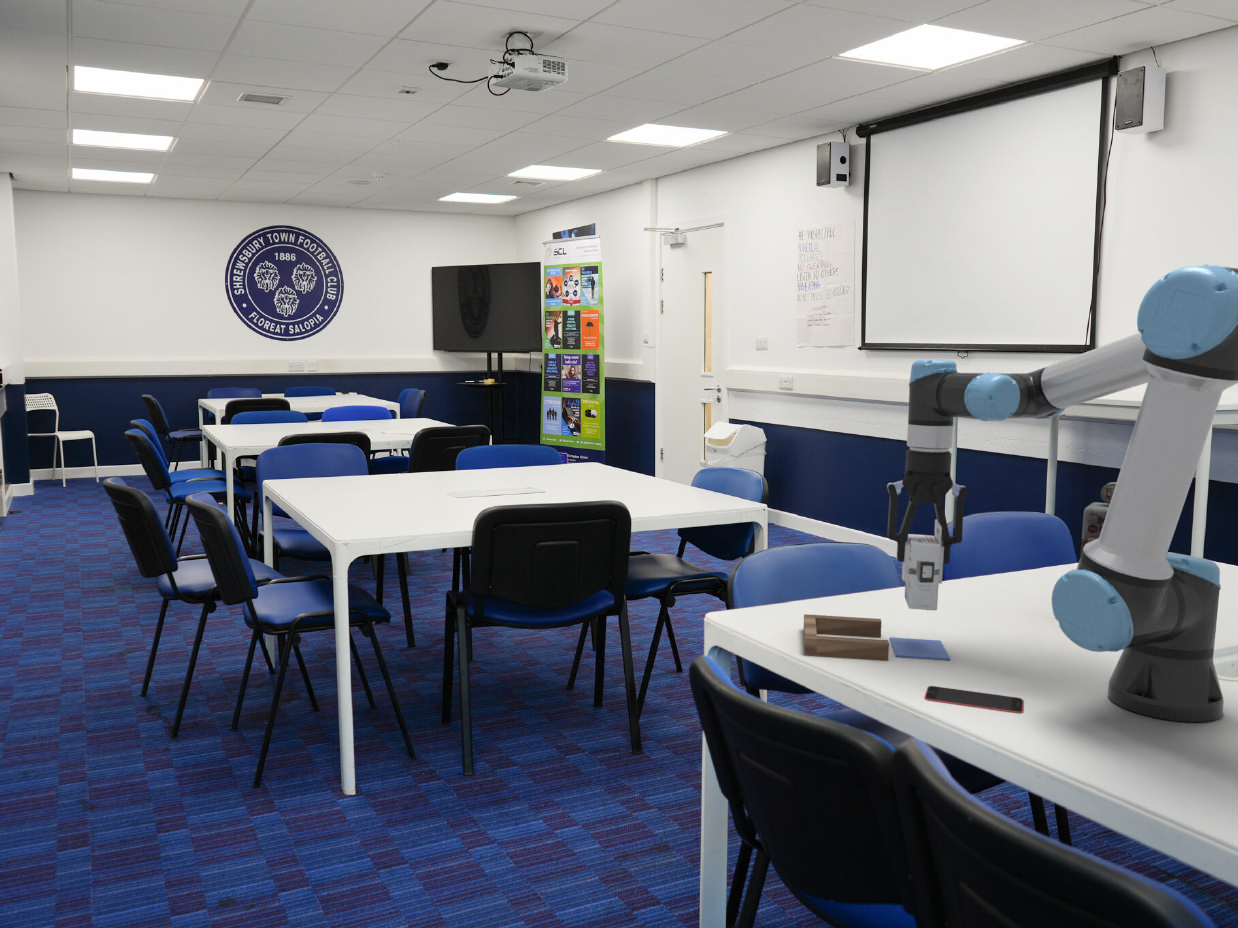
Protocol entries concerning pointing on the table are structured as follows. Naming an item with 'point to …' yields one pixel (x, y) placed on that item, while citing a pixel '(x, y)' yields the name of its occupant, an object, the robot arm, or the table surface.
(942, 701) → the smartphone
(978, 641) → the table surface
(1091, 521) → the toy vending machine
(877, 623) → the bay
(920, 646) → the pad
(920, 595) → the ink box
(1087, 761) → the table surface
